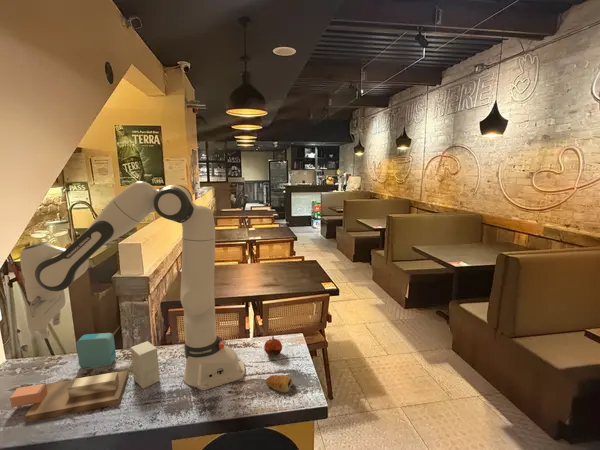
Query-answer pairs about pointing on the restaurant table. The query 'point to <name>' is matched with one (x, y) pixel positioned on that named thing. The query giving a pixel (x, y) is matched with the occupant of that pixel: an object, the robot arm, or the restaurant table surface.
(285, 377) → the pastry
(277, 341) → the pomegranate
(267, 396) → the restaurant table surface
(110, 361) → the data package
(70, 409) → the board
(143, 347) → the small box
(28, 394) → the orange rectangular block
